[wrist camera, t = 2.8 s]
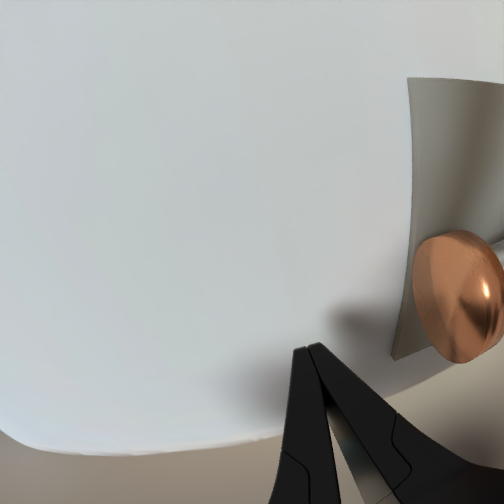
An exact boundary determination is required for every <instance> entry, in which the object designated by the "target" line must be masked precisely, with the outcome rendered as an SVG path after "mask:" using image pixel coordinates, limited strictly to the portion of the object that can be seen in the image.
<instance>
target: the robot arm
mask: <svg viewBox="0 0 504 504" xmlns="http://www.w3.org/2000/svg"><path fill="white" fill-rule="evenodd" d="M328 422H329V424H330V427H331V429H332V431H333V433H334V436H335V438H336V440H337V442H338V444H339V446H340V449H341V451H342V453H343V456H344V458H345V460H346V462H347V465H348V467H349V469H350V471H351V473H352V476H353V478H354V480H355V482H356V485H357V487H358V489H359V491H360V494H361V496H362V498H363V500H364V502H365V504H504V470H502V469H497V468H491V467H486V466H481V465H477V464H474V463H471V462H469V461H466V460H464V459H462V458H461V457H459V456H457V455H456V454H454V453H453V452H451V451H450V450H448V449H446V448H445V447H443V446H442V445H440V444H439V443H437V442H435V441H434V440H432V439H431V438H429V437H428V436H427V435H425V434H424V433H422V432H421V431H419V430H418V429H417V428H416V427H414V426H413V425H412V424H411V423H410V422H408V421H407V420H406V419H405V418H404V417H403V416H401V415H400V414H399V413H397V412H396V410H395V409H393V408H392V407H391V406H390V405H389V404H388V403H387V402H386V401H385V400H383V399H382V398H381V397H380V396H379V395H378V394H377V393H376V392H375V391H373V390H372V389H371V388H370V387H369V386H368V385H367V384H366V383H365V382H363V381H362V380H361V379H360V378H359V377H358V376H357V375H356V374H355V373H354V372H352V371H351V370H350V369H349V368H348V367H347V366H346V365H345V364H344V363H343V362H341V361H340V360H339V359H338V358H337V357H336V356H335V355H334V354H333V353H332V352H331V351H329V350H328V349H327V348H326V347H325V346H324V345H323V344H322V343H320V342H318V343H314V344H311V345H308V346H307V347H305V346H304V347H300V348H297V349H294V351H293V359H292V368H291V377H290V386H289V394H288V402H287V410H286V418H285V426H284V433H283V440H282V447H281V450H282V451H281V453H280V460H279V466H278V471H277V476H276V480H275V484H274V487H273V491H272V494H271V497H270V500H269V503H268V504H341V498H340V491H339V484H338V478H337V471H336V465H335V459H334V453H333V447H332V441H331V435H330V429H329V424H328Z"/></svg>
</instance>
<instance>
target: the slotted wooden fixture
mask: <svg viewBox="0 0 504 504" xmlns="http://www.w3.org/2000/svg"><path fill="white" fill-rule="evenodd" d="M407 80H408V89H409V99H410V111H411V127H412V156H413V181H412V211H411V227H410V240H409V251H408V260H407V269H406V277H405V284H404V291H403V298H402V304H401V310H400V316H399V321H398V327H397V332H396V337H395V342H394V346H393V351H392V355H391V356H392V358H393V360H394V361H396V360H398V359H401V358H403V357H405V356H408V355H410V354H412V353H415V352H417V351H419V350H422V349H424V348H426V347H428V346H430V345H432V343H431V341H430V340H429V338H428V336H427V334H426V332H425V330H424V328H423V326H422V323H421V321H420V318H419V315H418V311H417V308H416V304H415V299H414V293H413V283H412V271H413V263H414V258H415V255H416V252H417V250H418V248H419V247H420V245H421V244H422V243H423V242H424V241H426V240H427V239H430V238H433V237H436V236H439V235H442V234H445V233H448V232H451V231H454V230H467V231H470V232H472V233H474V234H476V235H478V236H479V237H481V238H482V239H483V240H484V241H485V242H486V243H487V244H488V245H489V246H490V245H492V244H495V243H497V242H499V241H502V240H504V84H499V83H491V82H482V81H473V80H461V79H445V78H407Z"/></svg>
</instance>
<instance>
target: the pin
mask: <svg viewBox="0 0 504 504" xmlns="http://www.w3.org/2000/svg"><path fill="white" fill-rule="evenodd" d="M412 283H413V293H414V299H415V304H416V308H417V311H418V315H419V318H420V321H421V323H422V326H423V328H424V330H425V332H426V334H427V336H428V338H429V340H430V341H431V343H432V344H433V346H434V347H435V348H436V350H437V351H438V352H439V353H440V354H441V355H442V356H443V357H445V358H446V359H447V360H449V361H451V362H454V363H459V364H462V363H467V362H469V361H471V360H473V359H474V358H476V357H478V356H479V355H481V354H483V353H484V352H486V351H487V350H489V349H491V348H492V347H493V346H495V345H496V344H497V343H498V342H499V341H500V340H501V338H502V337H503V335H504V240H502V241H499V242H497V243H495V244H492V245H490V246H489V245H488V244H487V243H486V242H485V241H484V240H483V239H482V238H481V237H479V236H478V235H476V234H474V233H472V232H470V231H467V230H454V231H451V232H448V233H445V234H442V235H439V236H436V237H433V238H430V239H427V240H426V241H424V242H423V243H422V244H421V245H420V247H419V248H418V250H417V252H416V255H415V258H414V263H413V271H412Z"/></svg>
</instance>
